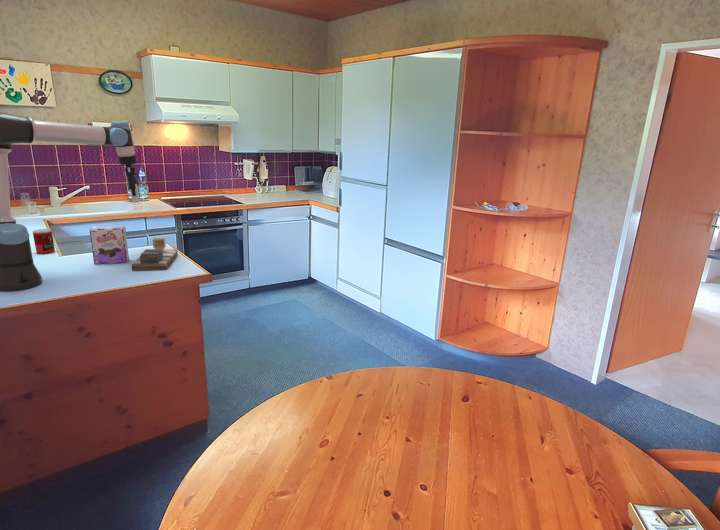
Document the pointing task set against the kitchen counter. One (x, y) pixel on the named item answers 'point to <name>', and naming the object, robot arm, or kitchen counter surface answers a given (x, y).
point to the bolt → (159, 243)
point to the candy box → (109, 245)
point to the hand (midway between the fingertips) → (136, 200)
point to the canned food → (43, 241)
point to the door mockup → (154, 260)
